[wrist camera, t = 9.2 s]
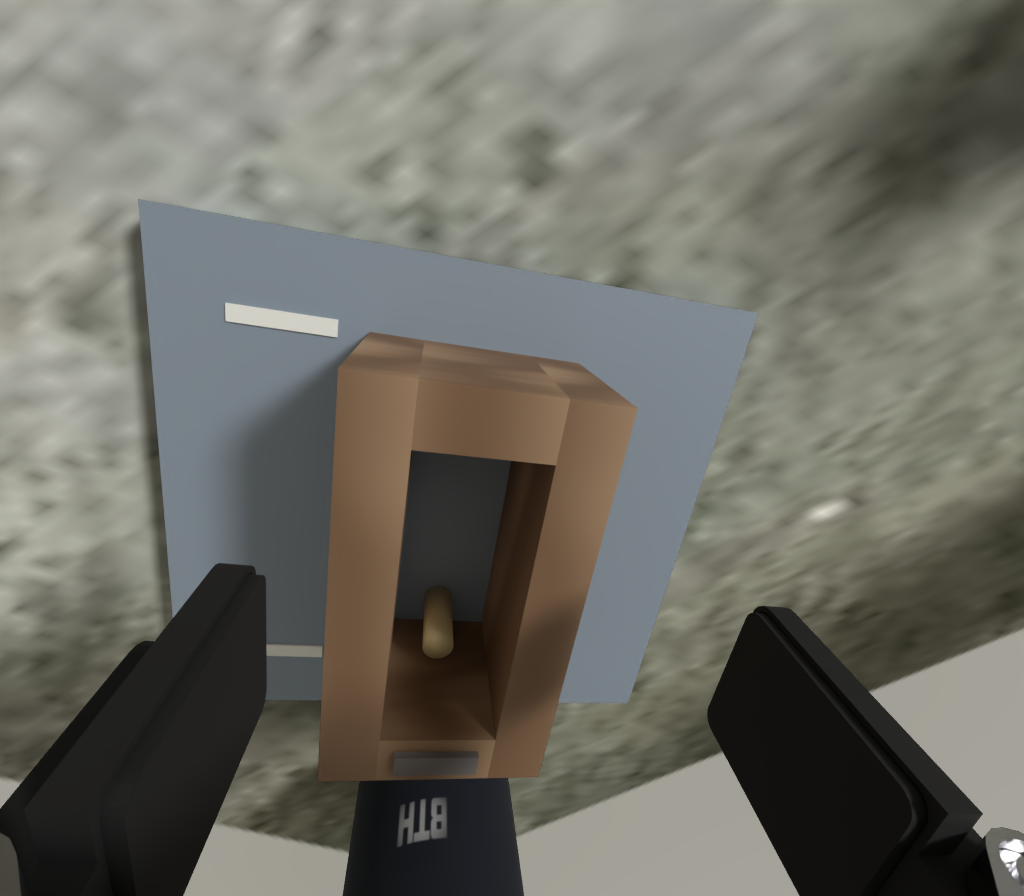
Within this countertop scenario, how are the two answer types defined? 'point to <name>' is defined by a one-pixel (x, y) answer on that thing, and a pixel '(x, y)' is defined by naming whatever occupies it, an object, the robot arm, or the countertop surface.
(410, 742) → the frame
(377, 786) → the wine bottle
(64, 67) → the countertop surface
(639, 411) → the board
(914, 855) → the robot arm
